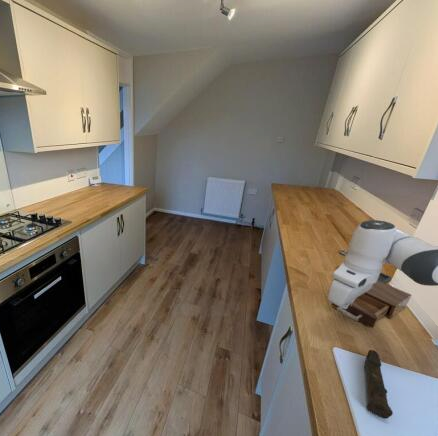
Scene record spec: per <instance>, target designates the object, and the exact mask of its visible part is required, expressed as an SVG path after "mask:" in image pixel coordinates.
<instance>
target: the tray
mask: <svg viewBox="0 0 438 436" xmlns="http://www.w3.org/2000/svg"><path fill="white" fill-rule="evenodd" d="M377 280H378V281H380V282H383V283H385V284H387V283H389V282H390V281H391V280H392V276H390V275H388V274H385V273H382V272H380V275H379V277H378V279H377Z"/></svg>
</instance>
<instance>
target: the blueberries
mask: <svg viewBox="0 0 438 436" xmlns="http://www.w3.org/2000/svg"><path fill="white" fill-rule="evenodd" d="M348 251H349V250H344V249H343V250H342V249H341V250H340V253H341V254H342V255H344V256H345V255H346V254H347V253H348Z"/></svg>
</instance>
